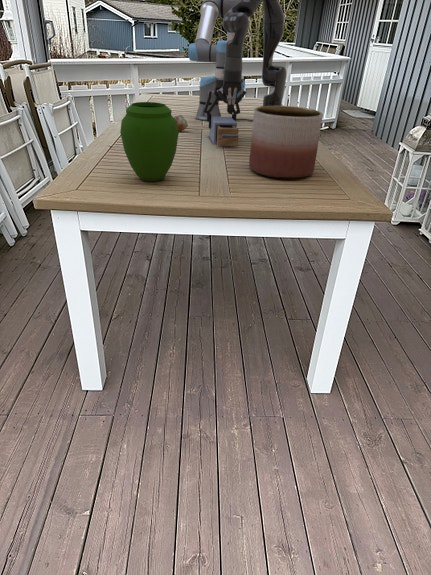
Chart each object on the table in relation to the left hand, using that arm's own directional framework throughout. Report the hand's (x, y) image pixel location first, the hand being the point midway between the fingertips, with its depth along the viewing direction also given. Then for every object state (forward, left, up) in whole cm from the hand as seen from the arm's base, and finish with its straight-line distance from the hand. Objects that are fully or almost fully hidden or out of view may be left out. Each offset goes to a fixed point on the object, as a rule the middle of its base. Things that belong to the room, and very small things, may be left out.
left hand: (221, 128), depth 204 cm
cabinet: (+1, +4, -5) cm, 7 cm away
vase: (+50, +55, -5) cm, 75 cm away
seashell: (+16, -19, -5) cm, 25 cm away
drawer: (+4, +15, -4) cm, 15 cm away
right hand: (+5, +22, +10) cm, 25 cm away
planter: (-1, +59, -5) cm, 59 cm away
